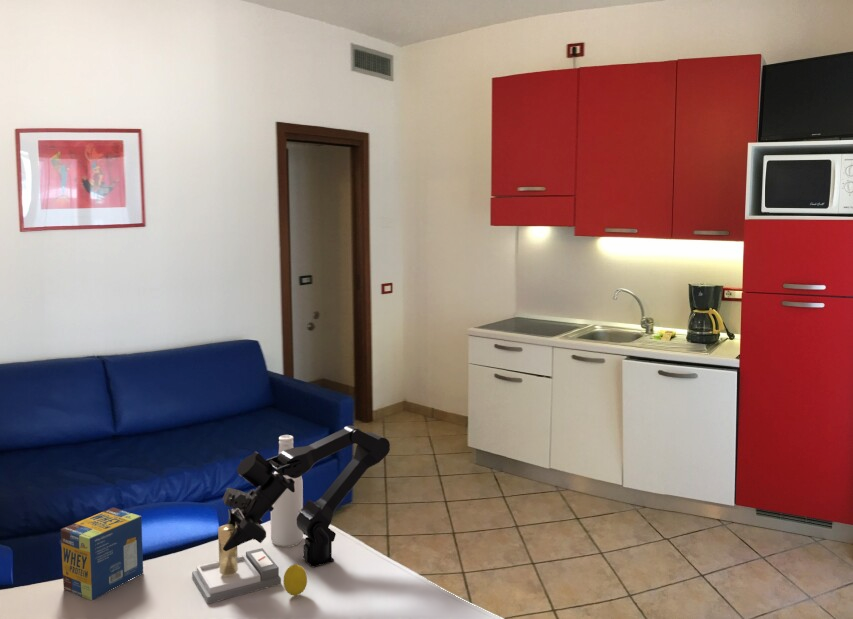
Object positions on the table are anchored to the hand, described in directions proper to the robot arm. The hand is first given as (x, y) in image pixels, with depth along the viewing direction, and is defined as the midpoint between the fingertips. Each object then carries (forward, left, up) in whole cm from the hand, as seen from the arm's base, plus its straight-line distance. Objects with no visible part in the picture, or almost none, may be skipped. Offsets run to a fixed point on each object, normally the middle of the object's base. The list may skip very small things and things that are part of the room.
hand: (222, 545), depth 176 cm
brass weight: (-1, 0, -7) cm, 7 cm away
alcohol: (-22, -15, -10) cm, 29 cm away
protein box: (+25, -16, -10) cm, 31 cm away
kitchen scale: (-3, 0, -10) cm, 10 cm away
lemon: (-13, +14, -10) cm, 22 cm away
